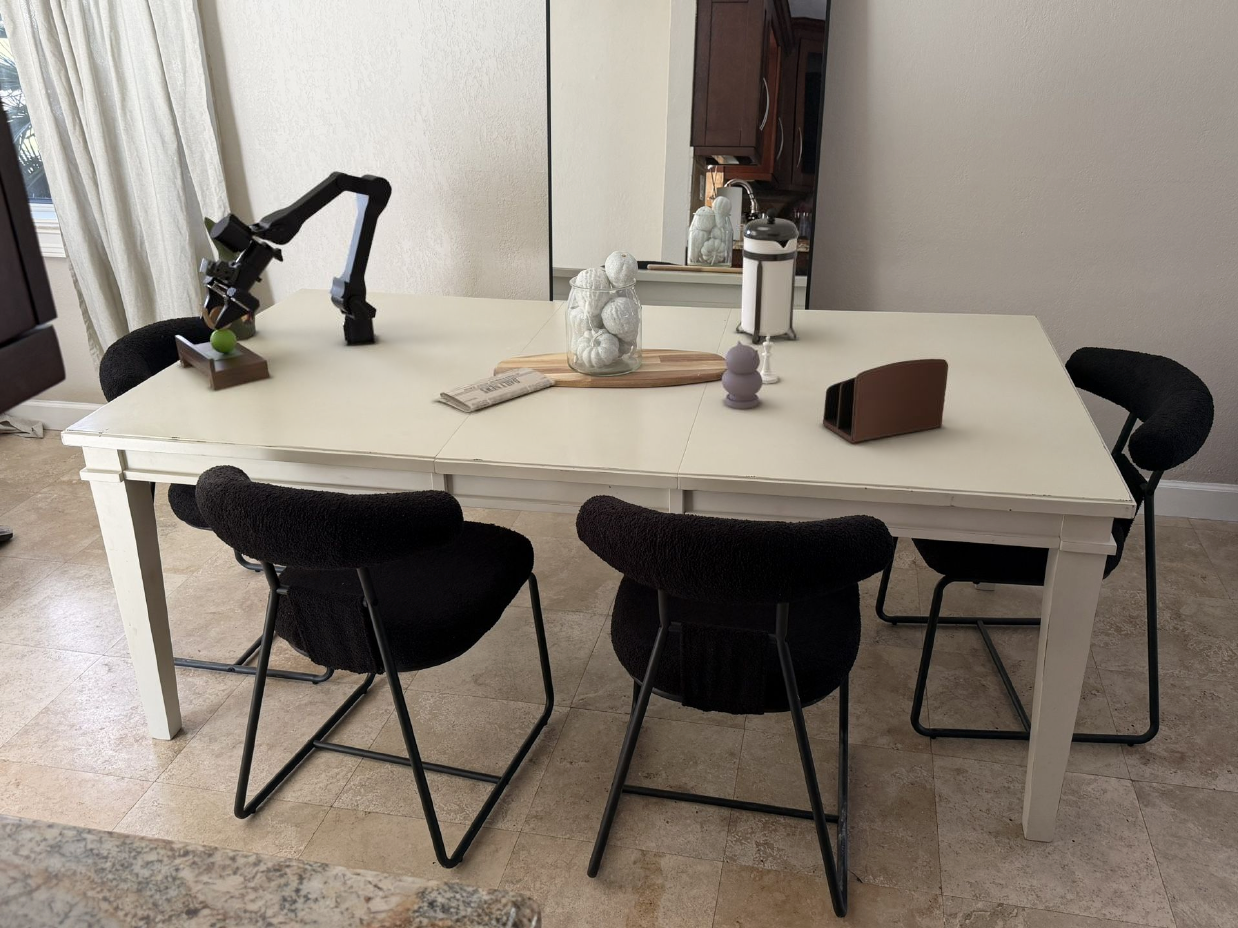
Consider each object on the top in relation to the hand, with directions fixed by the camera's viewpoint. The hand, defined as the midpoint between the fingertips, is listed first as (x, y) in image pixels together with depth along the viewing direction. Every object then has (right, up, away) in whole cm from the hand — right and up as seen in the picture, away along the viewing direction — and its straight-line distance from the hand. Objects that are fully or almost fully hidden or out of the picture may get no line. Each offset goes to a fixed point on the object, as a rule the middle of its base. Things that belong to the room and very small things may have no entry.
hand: (208, 324), depth 219 cm
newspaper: (+63, -16, -10) cm, 66 cm away
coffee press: (+123, +1, +24) cm, 126 cm away
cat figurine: (+113, -18, -17) cm, 116 cm away
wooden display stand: (+1, -10, +5) cm, 11 cm away
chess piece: (+120, -13, -5) cm, 121 cm away
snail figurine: (+2, -6, +4) cm, 7 cm away
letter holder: (+138, -23, -30) cm, 143 cm away
